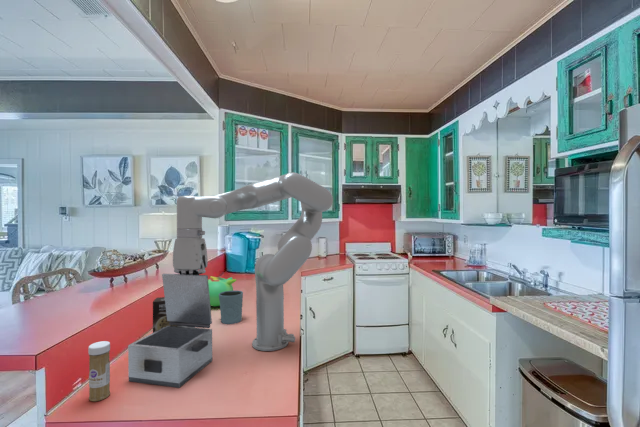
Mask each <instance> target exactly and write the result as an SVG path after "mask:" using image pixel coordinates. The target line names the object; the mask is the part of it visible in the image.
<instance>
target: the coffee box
mask: <svg viewBox="0 0 640 427" xmlns="http://www.w3.org/2000/svg"><path fill="white" fill-rule="evenodd" d="M169 322H170V321H167V315H166V306H165V297H164V296H162V297H155V299H154V300H153V302H152V333H154V332H156V331H158V330H160V329H162V328H164V327H166V326H168V325H169ZM169 326H175V325H169ZM181 327H183V326H181Z"/></svg>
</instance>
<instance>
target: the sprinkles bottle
mask: <svg viewBox="0 0 640 427" xmlns="http://www.w3.org/2000/svg"><path fill="white" fill-rule="evenodd" d="M87 352H88V353H87V354H88V356H89V358H88V359H89V361H88V364H89V366H88V370H89V371H88V372H89V373H88V387H89V388H88V389H89V390H88V393H89V396H88V400H89V401H90V402H99V401H103V400H104V399H107V398H108V397H109V396H110V395H111V391H110V388H111V387H110V386H111V385H110V383H111V372H110V371H111V370H110V369H111V368H110V367H111V363H110V362H111V361H110V352H111V342H110V341H107V340H103V341H101V340H100V341H97V342H93V343H91V344H90V345H88V350H87Z"/></svg>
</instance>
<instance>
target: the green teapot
mask: <svg viewBox="0 0 640 427" xmlns="http://www.w3.org/2000/svg"><path fill="white" fill-rule="evenodd" d="M236 281H237V279H236V278H234V279H233V276H232V277H228V278H224V277H221V276H219V277H216V276H212V275H211V276H210V277H209V278H208V285H209V296H210V307H220V301H219V293H221V292H225V291H234V287H233V284H234V283H235V282H236Z"/></svg>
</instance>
